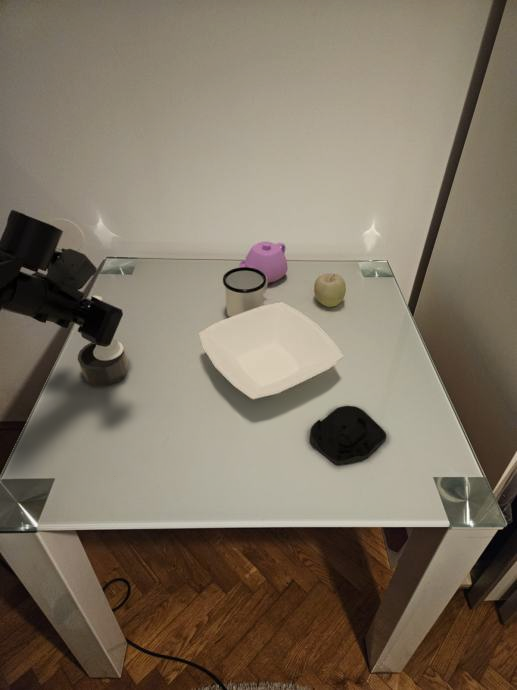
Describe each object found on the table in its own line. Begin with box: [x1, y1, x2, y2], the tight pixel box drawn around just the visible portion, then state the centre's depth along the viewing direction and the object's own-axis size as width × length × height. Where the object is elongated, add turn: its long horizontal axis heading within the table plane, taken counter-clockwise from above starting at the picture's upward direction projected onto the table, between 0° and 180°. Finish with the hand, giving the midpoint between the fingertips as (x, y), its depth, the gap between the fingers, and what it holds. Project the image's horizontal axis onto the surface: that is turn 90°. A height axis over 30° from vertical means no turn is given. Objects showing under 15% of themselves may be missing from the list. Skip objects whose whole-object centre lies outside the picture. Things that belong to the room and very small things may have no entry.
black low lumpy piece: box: [309, 405, 387, 466], centre depth 72 cm, size 12×10×5 cm
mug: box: [222, 266, 268, 318], centre depth 97 cm, size 12×10×9 cm
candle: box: [86, 295, 125, 360], centre depth 75 cm, size 5×5×12 cm
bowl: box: [198, 301, 344, 400], centre depth 85 cm, size 22×23×6 cm
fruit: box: [313, 273, 347, 308], centre depth 100 cm, size 8×7×8 cm
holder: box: [77, 340, 129, 387], centre depth 83 cm, size 8×8×4 cm
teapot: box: [239, 241, 288, 286], centre depth 107 cm, size 10×15×9 cm
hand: (106, 318), depth 76 cm, fingers closed on candle, 2 cm apart
